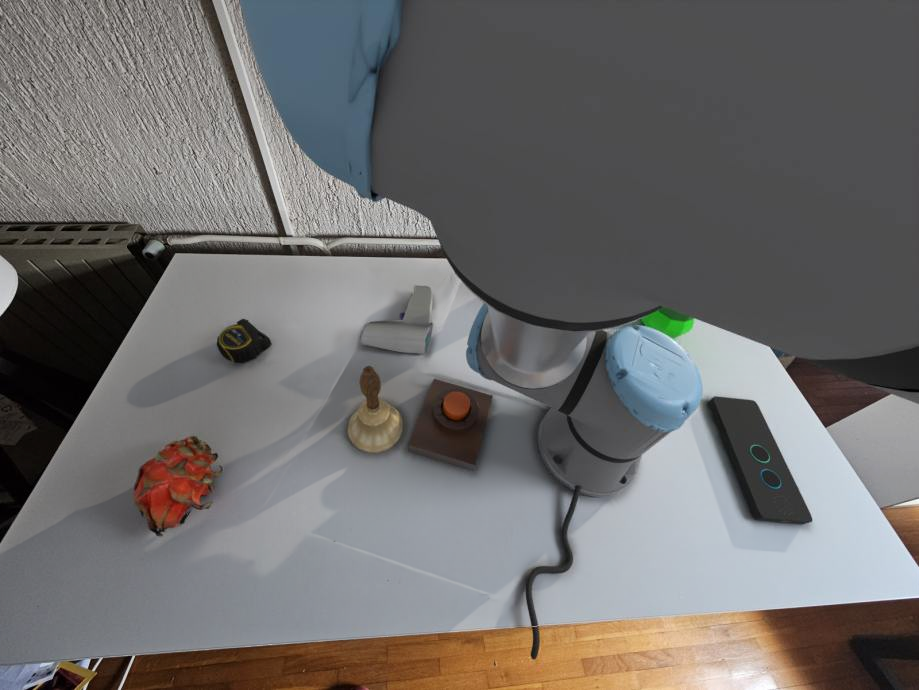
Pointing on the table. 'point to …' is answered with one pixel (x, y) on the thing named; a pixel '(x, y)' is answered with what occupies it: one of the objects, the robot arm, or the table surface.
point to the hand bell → (374, 418)
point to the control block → (451, 427)
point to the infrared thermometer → (404, 326)
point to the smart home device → (758, 462)
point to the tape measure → (242, 342)
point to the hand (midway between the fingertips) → (575, 262)
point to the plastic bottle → (669, 322)
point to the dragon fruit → (175, 483)
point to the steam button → (456, 406)
